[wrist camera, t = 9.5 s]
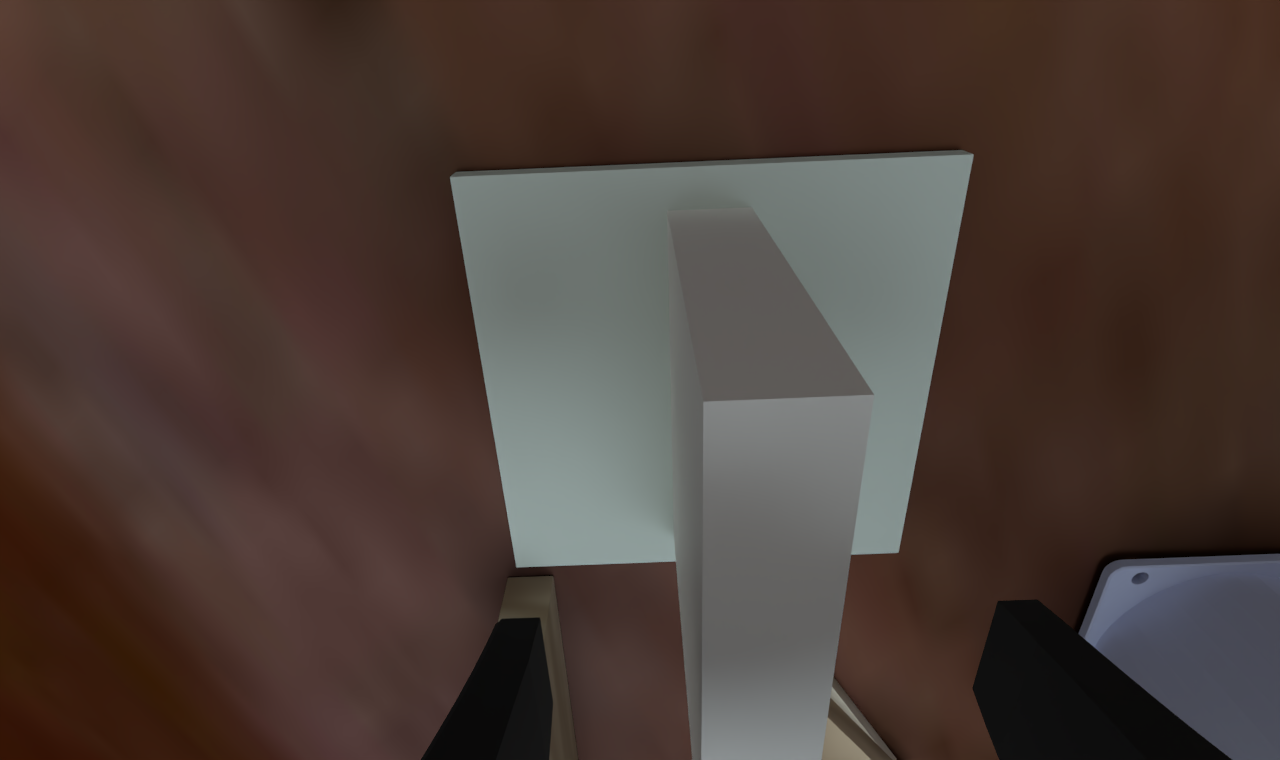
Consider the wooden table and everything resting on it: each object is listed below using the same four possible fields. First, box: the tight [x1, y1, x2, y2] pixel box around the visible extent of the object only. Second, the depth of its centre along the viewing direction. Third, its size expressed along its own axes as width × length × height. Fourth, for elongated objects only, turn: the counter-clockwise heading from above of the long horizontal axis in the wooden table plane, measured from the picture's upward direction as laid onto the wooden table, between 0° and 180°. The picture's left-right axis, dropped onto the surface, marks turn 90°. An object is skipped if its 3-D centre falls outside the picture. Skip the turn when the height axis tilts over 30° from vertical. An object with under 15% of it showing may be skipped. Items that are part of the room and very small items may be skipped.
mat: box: [450, 150, 974, 567], centre depth 18 cm, size 12×12×1 cm
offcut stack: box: [821, 677, 897, 760], centre depth 26 cm, size 5×8×2 cm, turn 33°
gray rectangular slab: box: [667, 207, 874, 760], centre depth 14 cm, size 2×10×9 cm, turn 2°
